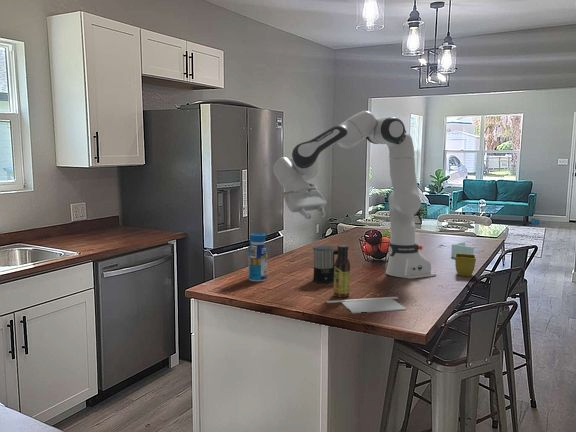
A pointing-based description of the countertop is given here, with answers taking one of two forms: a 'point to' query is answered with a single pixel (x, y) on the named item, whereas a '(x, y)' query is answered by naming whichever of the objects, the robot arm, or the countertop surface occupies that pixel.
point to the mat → (373, 306)
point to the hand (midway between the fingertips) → (316, 217)
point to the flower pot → (465, 264)
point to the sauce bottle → (342, 273)
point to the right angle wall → (461, 249)
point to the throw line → (361, 299)
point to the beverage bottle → (257, 258)
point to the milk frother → (324, 264)
